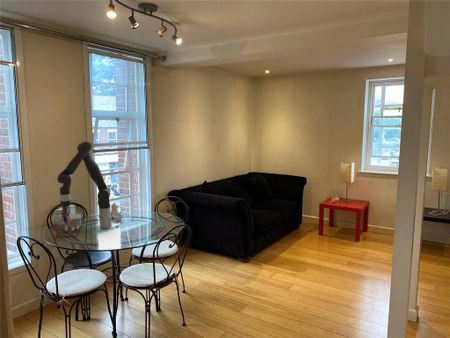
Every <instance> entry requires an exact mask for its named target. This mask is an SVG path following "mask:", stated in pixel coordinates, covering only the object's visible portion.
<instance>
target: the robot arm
mask: <svg viewBox="0 0 450 338" xmlns="http://www.w3.org/2000/svg"><path fill="white" fill-rule="evenodd" d="M92 148H93V146H92V144H91V142H90V141H88V140H87V141H86V140H85V141H81V142H80V143H78V144H77V153H76V154H75V156H74V157H73V158H72V159H71V160H70V161H69V162H68V164H67V165H66V166H65V168H64V169H63V170H62V171H61V172H60V173H59V174H58V176H57V180H56V181H57V182H58V183H59V184H62V186H61V187H59V206H60V207H61V208H62V207H63V209H62V210H61V214H62V217H63V218H64V222H67V216H69V214H70V208H71V207H69V206H70V205H72V201H71V190H70V189H71V185H72V177H71V175H73V174H75V172H76V170H77V169H78V168H79V166H80V164H81V163H82V161H83V163H84V166H85V167H86V170H87V173H88V174H89V177H90V178H91V180H92V181H93V182H94V184H95V186H96V188H97V190H98V193H97V205H98V215H99V217H98V219H99V220H98V221H99V222H98V223H99V228H100V229H101V230H102V229H103V230H104V229H105V230H106V229H111V228H112V226H113V225H112V223H113V222H112V221H113V220H112V219H111V202H110V197H111V191H110V189H109V187H108V186H107V183H106V182H105V179H104V177H103V174H102V172H101V171H102V170H101V169H100V167H99V165H98V163H97V162H96V161H95V160H94V159H93V157H92V156H91V154H90V151H91V150H93V149H92Z"/></svg>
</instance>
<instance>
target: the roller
mask: <svg viewBox="0 0 450 338" xmlns="http://www.w3.org/2000/svg"><path fill="white" fill-rule="evenodd" d="M60 221H61V222H64V218H63V217H62V216H61V217H60ZM67 221H72V216H67Z"/></svg>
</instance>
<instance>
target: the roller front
mask: <svg viewBox="0 0 450 338" xmlns="http://www.w3.org/2000/svg"><path fill="white" fill-rule="evenodd" d="M72 231H73V232H75V231H76V230H75V226H72ZM64 232H68V231H67V225H66V226H64Z"/></svg>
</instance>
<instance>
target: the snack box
mask: <svg viewBox="0 0 450 338" xmlns="http://www.w3.org/2000/svg"><path fill="white" fill-rule="evenodd" d="M69 207H71V208H70V214H69V215H73V214H76V205H75V204H71V205H70V206H69ZM62 209H63V207H62V206H61V207H59V208H57V209H54V227H55V226H60V227H61V226H63V224H64V225H67V222H61V221H60V217H61V216H62V214H61V210H62Z"/></svg>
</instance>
